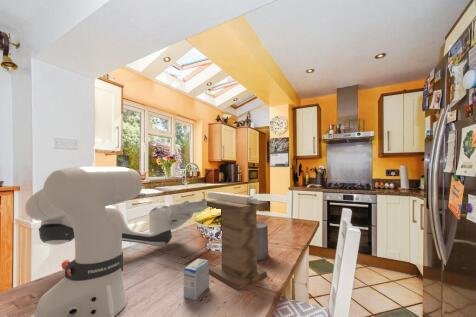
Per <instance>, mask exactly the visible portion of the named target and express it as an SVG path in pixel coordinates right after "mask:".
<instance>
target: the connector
mask: <svg viewBox="0 0 476 317" xmlns="http://www.w3.org/2000/svg"><path fill="white" fill-rule="evenodd" d="M206 193H207V195H206V196H207V198H206V199H211V200H212V199H213V200H223V201H229V202H236V203H242V204H250V203H255V202H257V201H258V198H255V197H254V196H253V195H247V194H239V193H238V194H237V193H231V192H222V191H213V190H212V191H207V192H206Z"/></svg>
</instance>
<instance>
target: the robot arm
mask: <svg viewBox="0 0 476 317" xmlns="http://www.w3.org/2000/svg"><path fill="white" fill-rule="evenodd" d="M142 189H143V178H142V176H141V174H140V173H139V171H137V170H136V169H133V168H130V167H129V168H128V167H124V166H74V167H73V166H72V167H71V166H70V167H66V168H62V169H57V170H54V171H53V172H51V173H50V174H49V175H48V176H47V177H46V179H45V181H44V183H43V187H42V188H41V189H39V190H38V191H36V192H35V193H34V194H32V195H31V197H29V199H28V200H27V201H26V203H25V212H26V214H27V216H29V218H31V219H32V220H35V221H37V222H38V221H39V222H40V227H39V228H38V233H39V240H41V242H43V243H45V244H48V245H53V246H56V245H57V246H58V245H63V244H66V243H69V242H71V241H73V240H74V259H73V260H72V261H70V260H69V259H65V260H64V261H62V262H61V268H62V270H63V271H64V277H63V278H61V279H60V281H58V282H57V283H56V284H55V285H54V286H52V287H51V288H50V289H48V290H47V291H46V292H45V293H44V294H43V295H41V297H40V298H39V301H38V303H37V305H36V308H35V311H34V314H32V315H30V316H29V317H116V316H117V314H119V313H120V312H121V311H122V310H123V309H124V308H125V307H126V305H127V304H128V297H127V294H126V289H125V286H124V285H125V284H124V278H123V271H124V265H125V264H124V263H125V257H124V251H123V250H122V249H123V248H122V247H123V246H122V245H123V242H128V243H135V244H142V245H143V244H144V245H150V246H152V247H153V246H154V247H163V246H167V245H168V244H169V243H170V241H171V240H172V238H173V234H172V231H174V230H176V229H179V228H180V227H181V226H183V225H184V224H185V223H187V222H188V221H189V220H190V219H191V218H192V217H193V214H196V213H200V212H203V211H205V210H207V209H208V208H209V207H207V201H208V199H207V198H202V199H201V200H197V201H189V200H185V201H183V202H181V203H173V204H170V205H169V206H168V205H158V206H156V207H154V208H153V209H152V210H150V211H149V213H148V223H149V224H148V225H149V227H148V228H149V232H144V231H136V230H133V229H131V228H130V227H129V226H128V224H127V223H126V220H125V218H124V215H123V213H122V211H121V210H120V208H118V207H117V206H115V205H116V204H117V205H118V204H120V203H125V202H127V201H130V200H133V199H135V198H136V197H138V196H139V195H140V193H141V191H142Z"/></svg>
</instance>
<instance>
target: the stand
mask: <svg viewBox="0 0 476 317" xmlns="http://www.w3.org/2000/svg"><path fill="white" fill-rule="evenodd" d="M207 207H208V208H211V207H212V208H216V209H221V231H222V235H221V263H220V264H218V265H215V266H214V265H213V266H212V267H209V275H211V276H213V277H214V278H216V279H219V280H220V281H221V282H224V283H225V284H227V285H229V286H230V287H232V288H234V289H235V290H237V291H240V290H241V289H243V288H245V287H247V286H249V285H251V284H253V283H255V282H257V281H260V279H262V278H264V277H267V276H268V272H267V271H268V270H266V269H263V268H261V267H258V260H257V222H258V221H257V211H259V210H263V209H269V201H264V200H257V202H255V203H250V204H242V203H236V202H229V201H223V200H217V199H213V200H212V199H211V200H207Z"/></svg>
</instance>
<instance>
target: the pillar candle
mask: <svg viewBox="0 0 476 317" xmlns="http://www.w3.org/2000/svg"><path fill="white" fill-rule="evenodd" d="M268 231H269V230H268V224H267V223H266V222H261V221H257V261H265V260H267V259H268V258H269V237H268V236H269V234H268Z"/></svg>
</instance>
